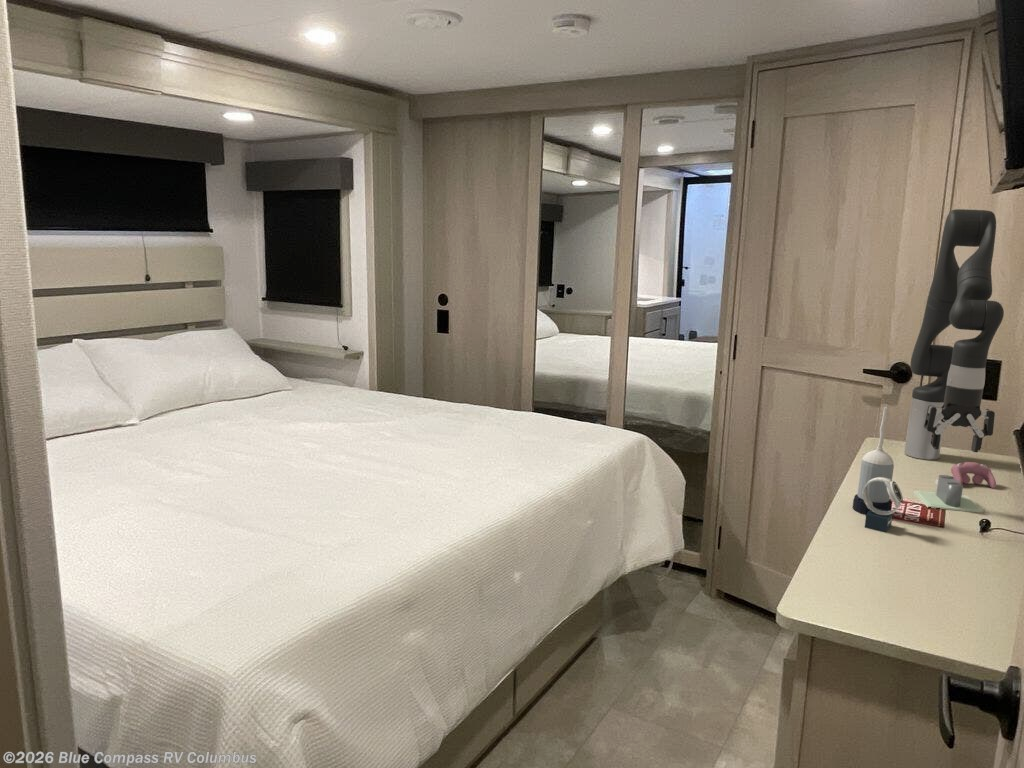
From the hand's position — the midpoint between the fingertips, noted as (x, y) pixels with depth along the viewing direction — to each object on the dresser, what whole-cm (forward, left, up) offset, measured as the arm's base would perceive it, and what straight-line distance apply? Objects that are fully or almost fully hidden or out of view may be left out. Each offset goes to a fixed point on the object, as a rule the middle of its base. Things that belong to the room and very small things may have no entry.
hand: (954, 449), depth 178 cm
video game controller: (-17, +11, -14) cm, 24 cm away
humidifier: (+12, -20, -14) cm, 27 cm away
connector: (-1, 0, -13) cm, 13 cm away
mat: (0, 0, -13) cm, 13 cm away
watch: (+22, -21, -14) cm, 33 cm away
